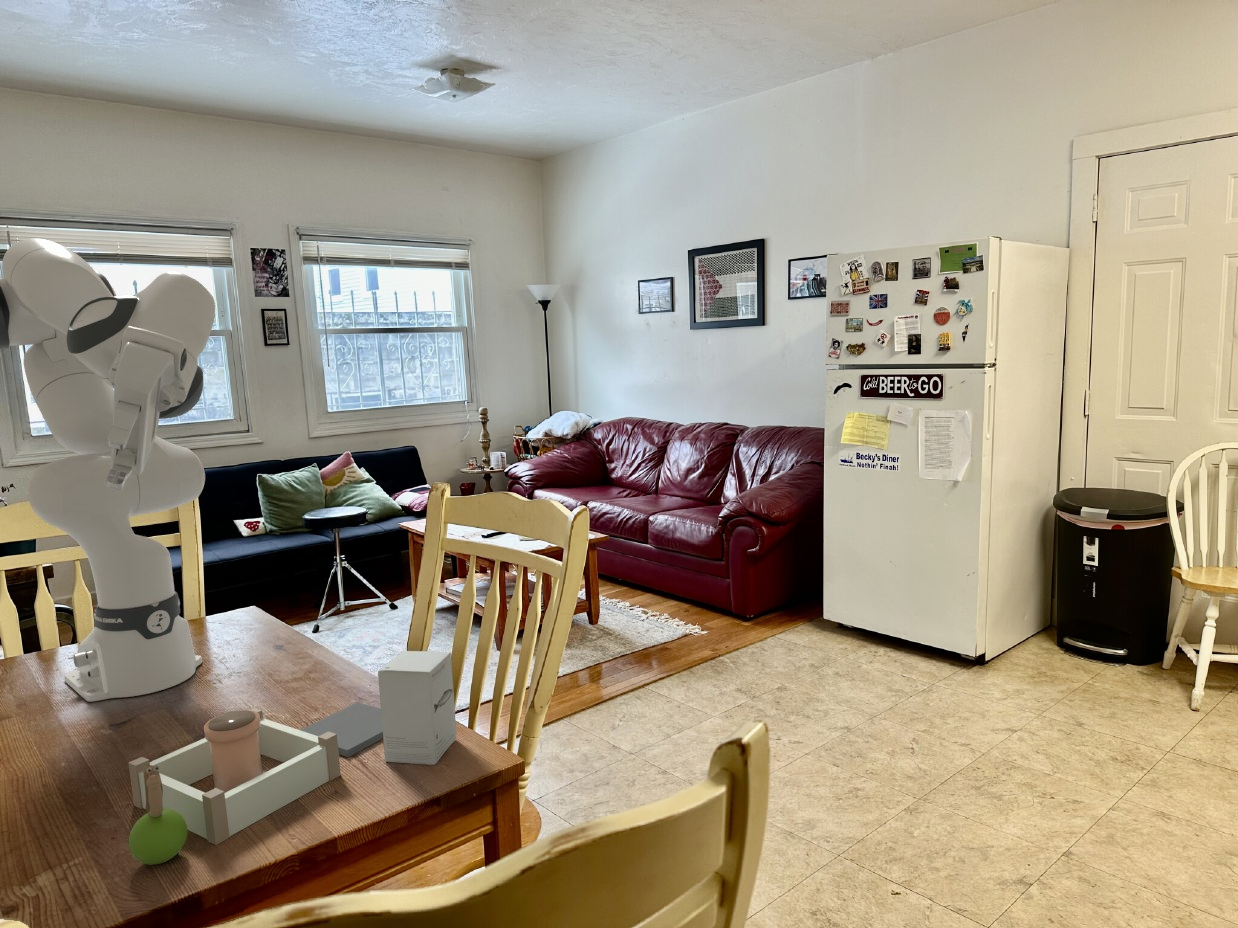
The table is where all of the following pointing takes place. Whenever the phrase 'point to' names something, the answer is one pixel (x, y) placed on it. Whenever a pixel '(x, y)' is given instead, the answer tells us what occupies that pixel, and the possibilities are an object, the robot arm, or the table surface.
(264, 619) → the table surface
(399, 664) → the supplement box
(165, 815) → the snail figurine
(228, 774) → the terracotta pot
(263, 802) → the raised garden bed frame
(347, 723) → the rubber mat
